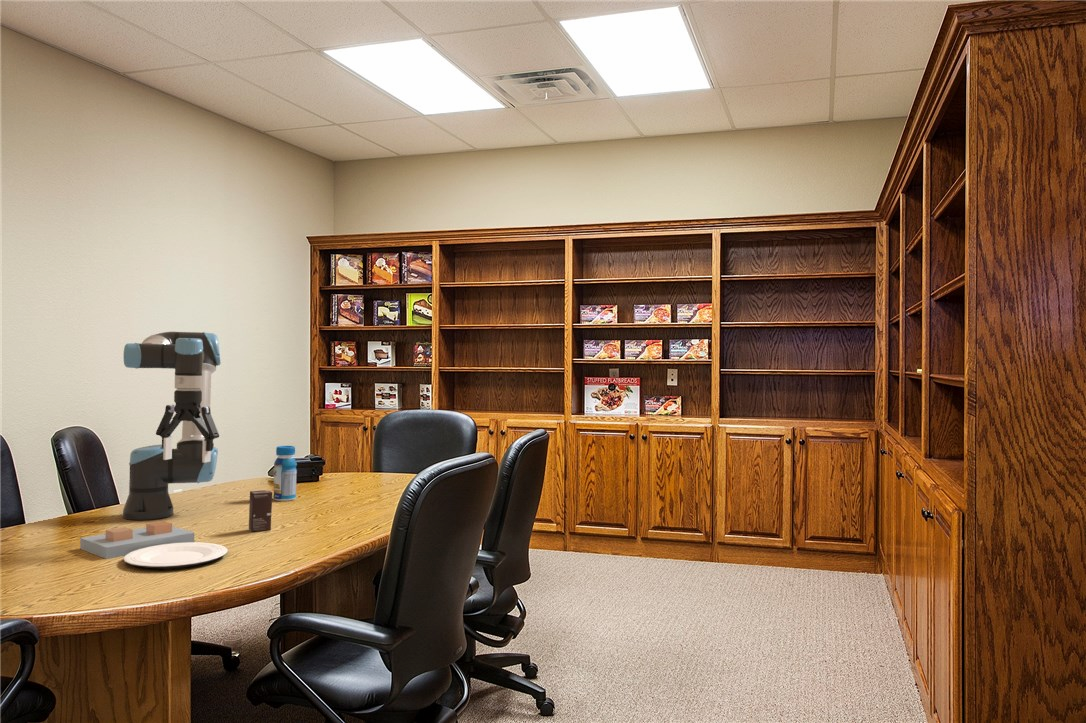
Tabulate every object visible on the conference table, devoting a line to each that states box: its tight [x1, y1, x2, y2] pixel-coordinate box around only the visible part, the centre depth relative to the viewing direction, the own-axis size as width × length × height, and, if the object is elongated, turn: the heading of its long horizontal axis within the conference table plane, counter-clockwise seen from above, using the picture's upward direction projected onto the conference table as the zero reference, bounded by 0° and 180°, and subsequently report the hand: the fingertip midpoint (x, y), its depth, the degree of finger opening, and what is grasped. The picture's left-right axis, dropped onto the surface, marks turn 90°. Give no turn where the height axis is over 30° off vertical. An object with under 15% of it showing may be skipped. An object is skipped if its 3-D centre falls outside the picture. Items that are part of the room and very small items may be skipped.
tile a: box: [145, 520, 173, 535], centre depth 222 cm, size 5×5×2 cm
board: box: [79, 525, 195, 560], centre depth 218 cm, size 16×24×3 cm, turn 142°
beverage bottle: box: [272, 445, 298, 502], centre depth 292 cm, size 8×8×20 cm
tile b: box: [105, 526, 134, 542], centre depth 213 cm, size 5×5×2 cm
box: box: [248, 489, 273, 533], centre depth 241 cm, size 6×4×12 cm
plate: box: [123, 541, 228, 570], centre depth 205 cm, size 25×25×2 cm
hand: (186, 460), depth 231 cm, fingers open, 13 cm apart
